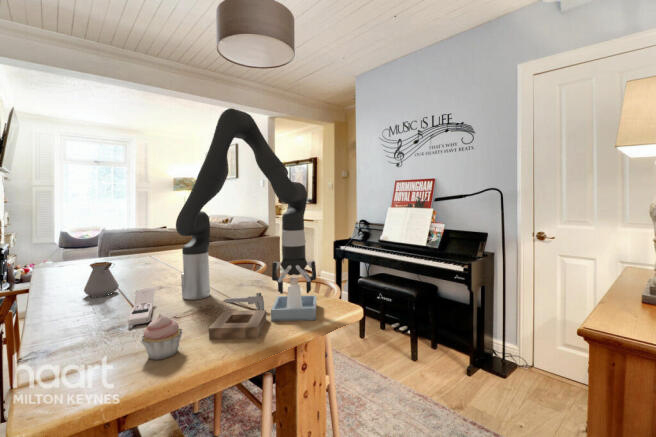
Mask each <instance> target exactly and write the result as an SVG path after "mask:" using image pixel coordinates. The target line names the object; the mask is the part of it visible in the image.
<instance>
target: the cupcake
mask: <svg viewBox="0 0 656 437" xmlns="http://www.w3.org/2000/svg"><path fill="white" fill-rule="evenodd" d="M179 325H180V324H179V323H178V322H177V321H176V320H175V319H173V318H171V317H169V316H168V315H165V314H162V313H159V314H158V317H157V318H155V319H154V320H152V321H151V322H150V323H149V324H148V325H147V326H146V327H145V329H144V330H143V335H142V336H140V337H141V339H140V343H141V344H142V345H143V346H144V348H145V351H146V353H147V356H148V358H149V359H151V360H157V361H158V360H164V359H167V358H168V359H169V358H170V357H172V356H175V354H177V352H178V350H179V346H180V341H181V338H182V336H183V333H184V331H183V328H180V326H179Z"/></svg>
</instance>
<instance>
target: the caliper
mask: <svg viewBox="0 0 656 437" xmlns="http://www.w3.org/2000/svg"><path fill="white" fill-rule="evenodd" d="M223 302H225V303H231V304H232V303H247V304H248V305H253V304H254V305H255V308H256V310H265V301H264V297H263V295H262V292H256V293H255V295H248V296H247V297H227V298H225V299H223Z"/></svg>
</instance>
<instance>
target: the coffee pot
mask: <svg viewBox="0 0 656 437" xmlns="http://www.w3.org/2000/svg"><path fill="white" fill-rule="evenodd" d="M112 264H113V265H114V262H113V263H112V262H110V261H100V262H99V261H98V262H93V263H90V264H89V267H90V268H91V269H92V270H91V272H90V275H89V277H88V279H87V282H86V283H85V286H84V289H83V292H84V293H85V294H86V295H87V296H93V297H92V298H99V297H98V296H104V297H106V296H105V295H108V294H111V293H113V292H114V293H115V292H116V291H117V290H118V289H119V287H120V286H119V283H118V282H117V280H116V279H115V277H114V275H113V273H112V272H111V270H110V269H112V268H114V266H112ZM111 266H112V267H111ZM114 293H113V294H114ZM111 295H112V294H111ZM108 296H109V295H108Z"/></svg>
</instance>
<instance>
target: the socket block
mask: <svg viewBox="0 0 656 437" xmlns="http://www.w3.org/2000/svg"><path fill="white" fill-rule="evenodd" d="M266 322H267V310H266V309H264V310H257V309H256V310H255V309H254V310H224V311H223V312H222V313H221V314H220V315H219V316H218V317H217V318H216V319H215V321H214V322H213V323H212V324H211V325H210V326H208V339H209V340H226V339H227V340H230V339H231V340H233V339H236V340H237V339H258V338H259V336H260V334H261V332H262V330H263V327H264V325H265V323H266Z"/></svg>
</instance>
